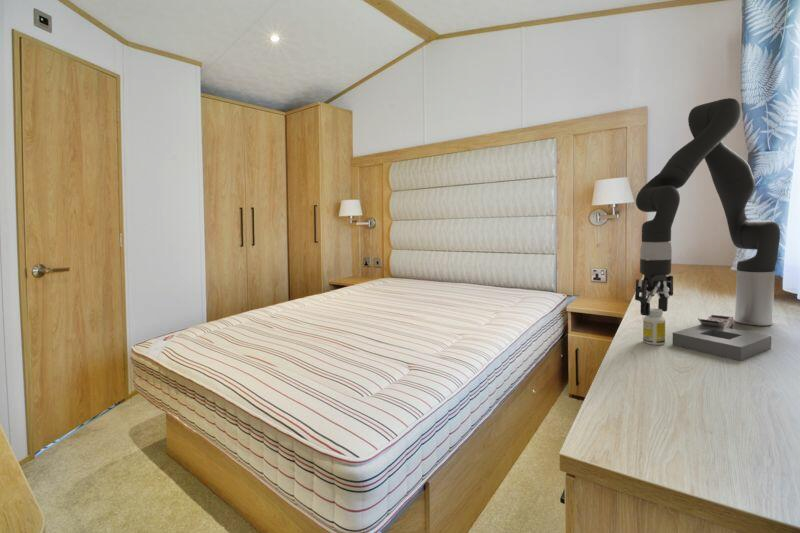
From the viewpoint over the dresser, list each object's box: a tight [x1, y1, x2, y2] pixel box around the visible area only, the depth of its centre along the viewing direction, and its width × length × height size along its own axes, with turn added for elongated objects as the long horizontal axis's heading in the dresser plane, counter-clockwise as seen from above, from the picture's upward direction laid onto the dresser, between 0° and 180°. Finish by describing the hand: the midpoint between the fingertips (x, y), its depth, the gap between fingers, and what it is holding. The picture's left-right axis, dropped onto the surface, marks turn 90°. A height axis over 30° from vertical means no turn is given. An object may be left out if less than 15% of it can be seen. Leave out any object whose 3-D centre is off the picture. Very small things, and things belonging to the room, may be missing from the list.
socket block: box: [672, 323, 772, 362], centre depth 109 cm, size 16×16×4 cm
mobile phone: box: [697, 314, 734, 329], centre depth 123 cm, size 6×6×25 cm
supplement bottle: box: [642, 307, 666, 346], centre depth 115 cm, size 5×5×10 cm
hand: (653, 313), depth 114 cm, fingers open, 8 cm apart
